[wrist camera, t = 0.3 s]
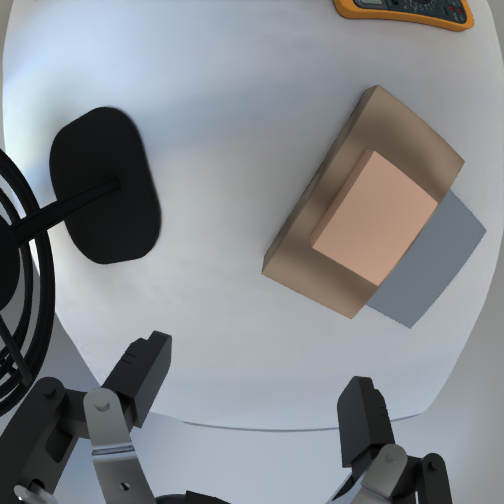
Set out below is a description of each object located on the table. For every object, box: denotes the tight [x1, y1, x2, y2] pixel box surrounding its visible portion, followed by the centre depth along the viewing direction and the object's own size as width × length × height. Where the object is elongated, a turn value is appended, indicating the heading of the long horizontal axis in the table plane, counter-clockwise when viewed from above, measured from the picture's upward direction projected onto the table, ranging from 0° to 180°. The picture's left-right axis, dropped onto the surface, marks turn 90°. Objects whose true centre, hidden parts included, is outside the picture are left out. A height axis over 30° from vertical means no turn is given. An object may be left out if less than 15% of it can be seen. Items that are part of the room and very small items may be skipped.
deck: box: [262, 85, 465, 319], centre depth 26 cm, size 22×12×4 cm, turn 152°
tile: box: [310, 148, 438, 286], centre depth 23 cm, size 10×8×2 cm
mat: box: [366, 189, 486, 328], centre depth 29 cm, size 18×12×1 cm, turn 152°
